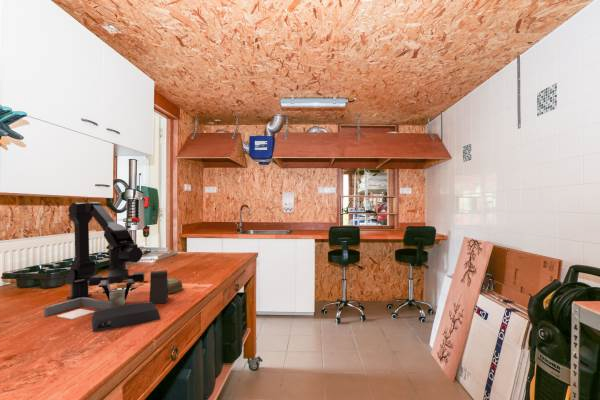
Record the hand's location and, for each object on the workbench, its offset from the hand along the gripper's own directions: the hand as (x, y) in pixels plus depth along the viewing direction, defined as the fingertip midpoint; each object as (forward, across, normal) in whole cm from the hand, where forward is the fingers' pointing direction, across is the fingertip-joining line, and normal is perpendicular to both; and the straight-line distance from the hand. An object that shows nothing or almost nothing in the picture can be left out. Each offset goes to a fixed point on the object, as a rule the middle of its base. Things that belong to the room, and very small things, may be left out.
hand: (117, 300), depth 125 cm
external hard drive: (+2, +5, -21) cm, 22 cm away
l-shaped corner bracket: (+1, -11, -6) cm, 13 cm away
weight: (+2, +18, +13) cm, 22 cm away
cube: (+1, 0, 0) cm, 1 cm away
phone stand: (+2, +15, -2) cm, 15 cm away
